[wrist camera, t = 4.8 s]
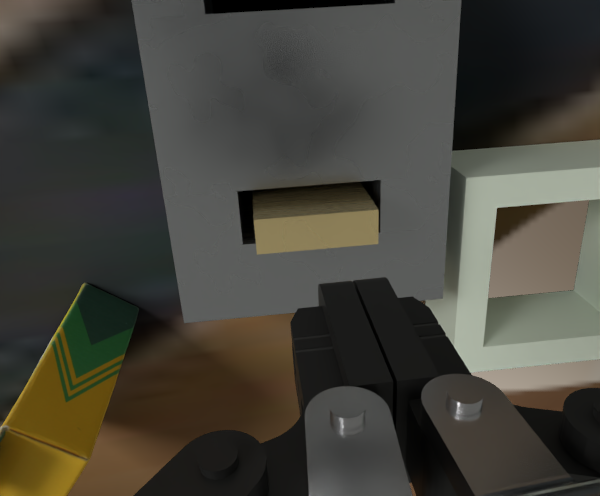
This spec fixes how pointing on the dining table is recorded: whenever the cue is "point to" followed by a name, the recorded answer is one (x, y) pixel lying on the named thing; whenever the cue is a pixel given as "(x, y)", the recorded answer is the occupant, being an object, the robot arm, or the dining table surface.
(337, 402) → the robot arm
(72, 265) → the dining table surface
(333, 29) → the socket block
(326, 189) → the wooden block
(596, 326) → the hollow square frame block
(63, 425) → the crayon box
